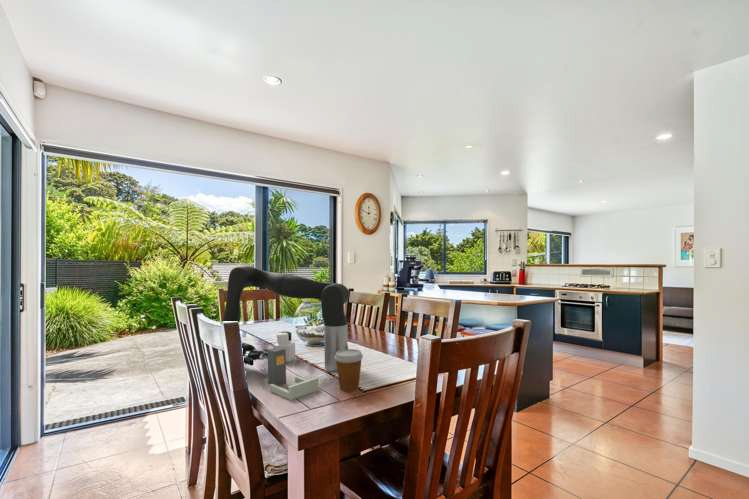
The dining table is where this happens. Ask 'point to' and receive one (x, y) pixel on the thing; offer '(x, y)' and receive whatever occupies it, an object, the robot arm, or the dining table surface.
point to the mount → (297, 388)
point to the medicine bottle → (286, 345)
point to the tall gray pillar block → (276, 366)
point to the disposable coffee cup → (348, 369)
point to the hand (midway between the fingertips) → (263, 359)
